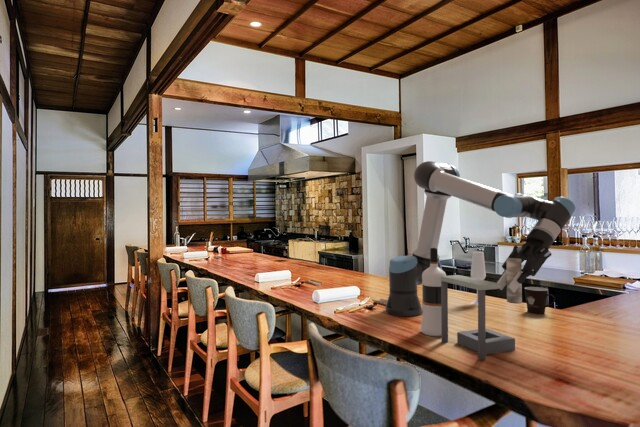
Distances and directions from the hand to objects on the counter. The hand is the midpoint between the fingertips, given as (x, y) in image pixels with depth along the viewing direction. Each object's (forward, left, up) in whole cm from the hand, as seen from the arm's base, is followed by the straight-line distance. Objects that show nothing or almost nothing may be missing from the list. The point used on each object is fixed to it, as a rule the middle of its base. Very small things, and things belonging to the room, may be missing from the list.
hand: (505, 288), depth 132 cm
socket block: (-6, -5, -18) cm, 20 cm away
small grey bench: (-10, -9, -18) cm, 23 cm away
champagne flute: (-12, +59, -18) cm, 63 cm away
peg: (+3, +3, -5) cm, 6 cm away
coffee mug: (+12, +49, -18) cm, 54 cm away
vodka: (-23, +3, -18) cm, 29 cm away
